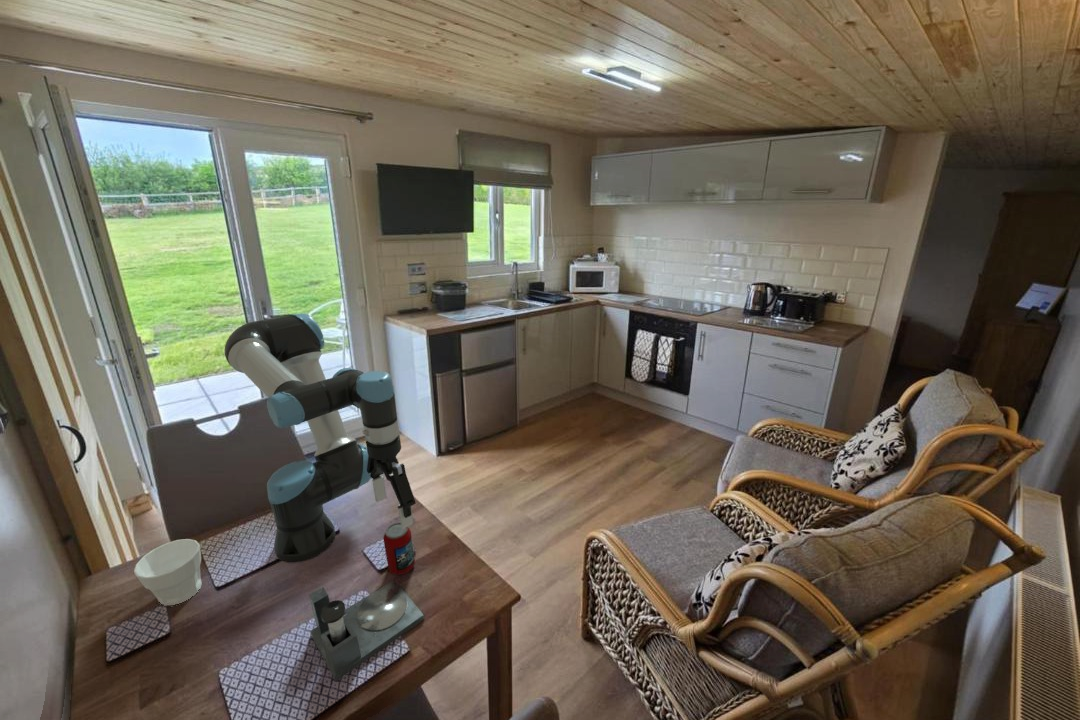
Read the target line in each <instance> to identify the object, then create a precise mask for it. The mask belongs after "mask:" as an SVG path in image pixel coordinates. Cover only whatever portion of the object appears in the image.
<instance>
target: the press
mask: <svg viewBox="0 0 1080 720" xmlns="http://www.w3.org/2000/svg"><path fill="white" fill-rule="evenodd" d="M308 598H309V601H310V605H311V610H312V613H313V618H314V621H315V626H316V627H314V628H312V629H311V630H310V631H309V632H310V635H311V638H312V640H313V642H314V644H315V646H316V647H317V650H318V651H319V653H320V655H321V657H322V659H323V660H324V662H325V665H326V666H327V669H328V670H329V671H330V674H331V676H332V678H333V680H334V681H335V683H336V682H339V680H341V679H342V678H344V677H345V676H347V673H348V674H350V671H351V672H353V670H354V669H357V668H358V667H359V666H360V665H362V664H363V663H365V662H367V661H368V660H369V659H371V658H372V657H373V656H375V655H377V654H378V653H379V652H381V651H382V650H383V649H385V648H386V647H388V646H389V645H390V644H392V643H394V642H395V641H397V639H399V638H400V637H402V636H403V635H404V634H406V633H408V632H409V631H410V630H412V629H414V627H416V626H417V625H419V624H420V623H422V622H423V621H424V620H425V615H424V613H423V612H422V611H421V610H420V609H419V607H418V606H417V605H416V604H415V603H414V601H413V600H412V599H411V598H410V596H408V594H407V593H406V592H405V591H404V590H403V588H402V587H401V586H400V585H399V583H398V582H397V581H396V580H395V579H393V580H392V581H390V582H388V583H387V584H385V585H383V586H381V587H380V588H379V589H377V590H375V591H373V592H372V593H370V594H368V595H367V596H366V597H363V598H362V599H360V600H359V601H356V603H354V604H352V605H350V606H348V607H347V608H346V611H345V614H344V616H343V620H344V625H345V629H346V634H347V638H346V639H345V640H343V641H342V642H340V643H339V644H337V645H336V646H334V647H333V644H332V639H331V635H330V631H329V627H328V623H325V622H323V621H322V618H321V610H322V609H323V607H324V606H325V605H326V604H328V603H330V602H331V601H330V598H329V594H328V592H327V591H326V589H325V588H324V586H322V587H320V588H318V589H316V590H315V591H313V592H311V593H310V594H308ZM344 675H345V676H344ZM343 676H344V677H343ZM340 678H341V679H340Z"/></svg>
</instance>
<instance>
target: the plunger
mask: <svg viewBox="0 0 1080 720" xmlns="http://www.w3.org/2000/svg"><path fill="white" fill-rule="evenodd" d="M346 609H347V608H346V604H345V602H343V601H342V600H338V599H336V600H332V601H330V603H328V604H326V605H325V606H324V607H323V609H322V610H321V618H322V621H323V622H325V623H328V627H329V631H330V635H331V639H332V644H333V647H334V646H336V645H337V644H339V643H340V642H342V641H343V640H345V639H346V638H347V634H346V629H345V625H344V620H343V616H344V614H345V611H346Z"/></svg>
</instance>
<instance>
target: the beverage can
mask: <svg viewBox="0 0 1080 720" xmlns="http://www.w3.org/2000/svg"><path fill="white" fill-rule="evenodd" d="M383 544H384V551H385V556H386V557H385V558H386V563H387V567H388V569H387V570H388V571H389V572H390V573H391V574H393V575H404V574H406V573H408V572H409V571H411V570H412V569H413V568H414V566H415V564H416V559H415V551H414V544H413V536H412V531H411V529H410V527H409V526H408V527H406V528H404V529H402V528H401V522H394V523H392V524H390V525H388V527H387V528H386V529H385V532H384V534H383Z"/></svg>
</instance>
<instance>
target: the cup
mask: <svg viewBox="0 0 1080 720" xmlns="http://www.w3.org/2000/svg"><path fill="white" fill-rule="evenodd" d="M201 563H202V553H201V546H200V543H199V542H198V541H197V540H195V539H190V538H185V539H184V538H183V539H176V540H173V541H170V542H167V543H164V544H162V545H160V546H157V547H155V548H154V549H152V550H151V551H149V552H148V553H146V554H145V555H143V556H142V557H141V558H140V559H139V560H138V562H136V564H135V566H134V570H133V573H134V575H135V576H136V577H137V579H138V580H139V582H140V584H141V585H143V587H144V589H147V590H150V592H151V593H152V594H153V596H155V598H156V599H157V601H158V603H159V602H160V603H161V604H164V605H175V604H179V603H182V602H184V601H186V600H187V601H189V600H190V598H191V597H192V596H193V597H194V596H196V593H197V592H199V591H200V590H201V589H202V583H203V582H202V576H201ZM199 589H200V590H199ZM198 590H199V591H198ZM197 594H198V593H197ZM193 597H192V598H193ZM192 598H191V599H192ZM188 599H189V600H188ZM187 601H186V602H187ZM160 603H159V604H160ZM184 603H185V602H184ZM161 604H160V605H161ZM182 604H183V603H182ZM179 605H180V604H179Z"/></svg>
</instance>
